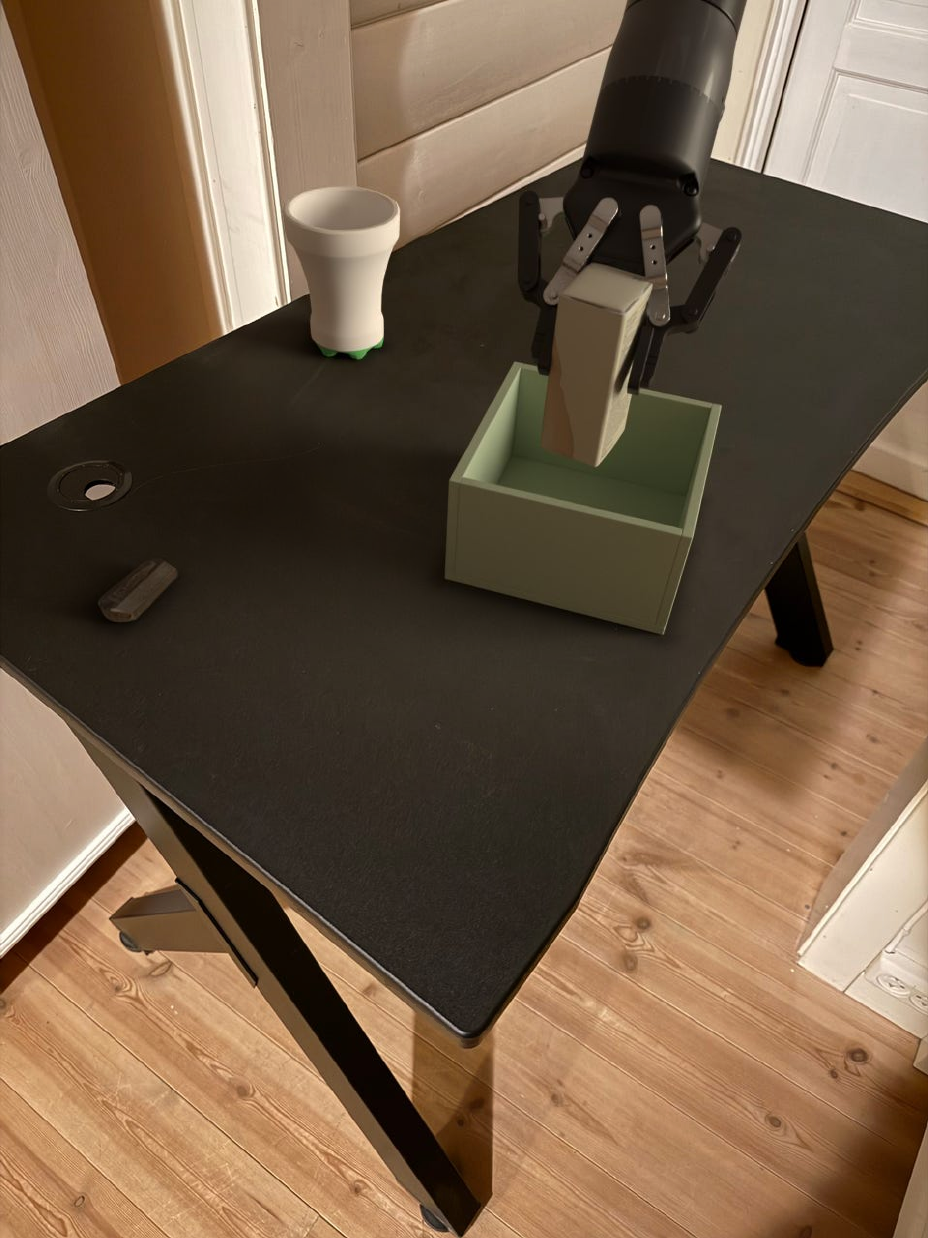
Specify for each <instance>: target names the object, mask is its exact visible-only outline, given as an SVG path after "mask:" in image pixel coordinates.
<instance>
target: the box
mask: <svg viewBox="0 0 928 1238" xmlns="http://www.w3.org/2000/svg"><path fill="white" fill-rule="evenodd" d="M652 287H653V284H651V283H648V282H646V278H645V277H644V276H640V275H637V274H633V273H630V272H627V271H623V270H620V269H617V268H613V267H610V266H607V265H604V264H600V263H595V262H591V263H590V264H589V265H588V266H587V267H586V268H584V269H583V270H582V271H581V272H580V273H579V274H578V275H577V276H576V277H575V278H574V279H573V280H572V281H571V282H570V283H569V284H568V285H567V286H566V287H565V288H564V290H563V291H562V292H561V293H560V294H559V300H558V308H557V316H556V323H555V332H554V339H553V347H552V355H551V363H550V370H549V378H548V385H547V393H546V401H545V409H544V417H543V425H542V433H541V441H540V447H541V448H544V449H546V450H549V451H552V452H554V453H557V454H560V455H562V456H565V457H568V458H570V459H573V460H576V461H579V462H582V463H584V464H587V465H590V466H592V467H597V466H598V465H599V464H600V463H601V462H602V460H603V459H604V458H605V457H606V455H607V454H608V453H609V451H610V450H611V448H612V447H613V446H614V444H615V443H616V442H617V440H618V439H619V437H620V436H621V434H622V433H623V431H624V429H625V424H626V419H627V414H628V410H629V405H630V400H631V396H632V394H628V393H627V385H628V381H629V377H630V373H631V369H632V365H633V361H634V357H635V354H636V350H637V346H638V342H639V338H640V334H641V331H642V327H643V326H646V325H647V321H648V314H649V311H648V299H649V296H650V293H651V291H652Z"/></svg>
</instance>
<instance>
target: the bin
mask: <svg viewBox="0 0 928 1238" xmlns="http://www.w3.org/2000/svg"><path fill="white" fill-rule="evenodd" d="M537 366H538V365H532V364H527V363H523V362H518V361H514V362H513V364H512V365H511V367H510V369H509V371H508V372H507V374H506V376H505V378H504V380H503V382H502V383H501V385H500V387H499V389H498V390H497V392H496V395H494V398H493V400H492V402H491V403H490V405H489V407H488V408H487V411H486V413H485V414H484V416H483V418H482V420H481V422H479V423H480V424H479V425H478V427H477V429H476V431H475V432H474V435H472V438H471V440H470V441H469V444H468V445H467V447H466V449H465V450H464V452H463V455H462V456H461V458H460V460H459V462H458V463H457V466H456V467H455V469H454V470H453V473H452V475H451V477H450V478H449V480H448V493H447V494H448V495H447V496H448V497H447V517H446V541H445V558H444V559H445V561H444V579H445V580H447V581H448V580H449V581H452V582H456V583H460V584H464V585H468V586H471V587H476V588H479V589H483V590H487V591H491V592H495V593H498V594H503V595H506V596H510V597H514V598H518V599H522V600H526V601H530V602H533V603H537V604H540V605H541V604H542V605H545V606H549V607H553V608H557V609H561V610H565V611H569V612H573V613H576V614H580V615H584V616H588V617H592V618H596V619H600V620H602V621H608V622H611V623H616V624H619V625H622V626H627V627H630V628H634V629H638V630H642V631H647V632H649V633H654V634H658V635H662V636H663V635H664V634H665V631H666V628H667V624H668V621H669V618H670V614H671V613H672V612H671V611H672V608H673V604H674V601H675V598H676V595H677V592H678V588H679V585H680V582H681V579H682V578H681V577H682V575H683V572H684V569H685V565H686V563H687V559H688V556H689V553H690V549H691V546H692V542H693V540H694V537H695V536H694V535H695V531H696V526H697V523H698V522H697V521H698V517H699V512H700V507H701V502H702V499H703V494H704V490H705V485H706V480H707V475H708V471H709V466H710V462H711V457H712V453H713V447H714V443H715V439H716V435H717V430H718V427H719V426H718V425H719V420H720V416H721V411H722V407H723V405H721V404H718V403H712V402H708V401H704V400H699V399H693V398H690V397H684V396H680V395H676V394H670V393H666V392H661V391H657V390H656V391H655V390H651V389H648V388H647V389H646V388H643V387H642V388H641V387H640V391H639V394H638V396H637V395H633V394H632V396H631V400H630V405H629V410H628V414H627V419H626V424H625V429H624V431H623V433H622V434H621V436H620V437H619V439H618V440H617V442H616V443H615V444H614V446H613V447H612V448H611V450H610V451H609V453H608V454H607V455H606V457H605V458H604V459H603V460H602V462H601V463H600V464H599V465H598V466H597V467H592V466H590V465H587V464H584V463H582V462H579V461H576V460H573V459H570V458H568V457H565V456H562V455H560V454H557V453H554V452H552V451H549V450H546V449H544V448H541V447H540V441H541V433H542V425H543V417H544V409H545V401H546V393H547V385H548V378H549V376H544V375H540V374H539V372H538V369H537Z"/></svg>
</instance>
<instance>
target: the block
mask: <svg viewBox="0 0 928 1238" xmlns="http://www.w3.org/2000/svg"><path fill="white" fill-rule="evenodd" d="M178 576H179V571H178V570H177V568H175V567H174V566H173V565H171V564H170V563H168V562H167V561H165V560H163V559H161V558H158V557H152V558H147V559H146V560H145V561H144V562H142V563H141V564H139V565H138V566H137V567H136V568H135V569H133V570H132V571H131V572H130V573H129V574H128V575H126V576H125V577H124V578H123V579H121V580H120V581H119V582H118V583H116V584H115V585H114V586H113V587H111V588H110V589H109V590H107V591H106V592H105V593H104V594H103V595H102V596H101V597H99V599H98V602H97V603H98V607H99V608H100V610H101V612H102V614H103V616H104V617H105V618H106V619H107V620H109V621H111V622H114V623H127V622H132V621H136V620H137V619H139V617H140V616H142V614H143V613H144V612H145V611H146V610H147V609H148V608H149V607H150V606H151V605H152V604H153V603H154V602H155V601H156V599H158V598H159V597H160V595H161V594H162V593H164V591H165V590H166V589H167V588H168V587H169V586H170V585H171V584H172V583H173V582H174V581H175V580H176V579H177V577H178Z"/></svg>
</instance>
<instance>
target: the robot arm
mask: <svg viewBox="0 0 928 1238" xmlns="http://www.w3.org/2000/svg"><path fill="white" fill-rule="evenodd" d="M747 3H748V0H626V3H625V8H624V11H623V16H622V19H621V22H620V25H619V28H618V31H617V34H616V36H615V38H614V41H613V43H612V46H611V47H610V51H609V54H608V57H607V60H606V65H605V69H604V72H603V76H602V80H601V84H600V88H599V92H598V96H597V100H596V103H595V107H594V112H593V115H592V119H591V124H590V127H589V130H588V131H589V132H588V136H587V138H586V142H585V147H584V151H583V155H582V159H581V163H580V167H579V170H578V173H577V177H576V179H575V181H574V182H573V184H572V185H571V186H570V188H569V189H568V190H567V191H566V192H565V193H564V196H557V197H541V198H539V195H538V194H537V193H536V192H535V191H533V190H527V191H524V192H523V193H522V194H521V195H520V197H519V200H518V242H517V243H518V244H517V245H518V247H517V285H518V287H519V290H520V293H521V296H522V298H523V300H525V301H526V302H528V303H532V304H533V305H536V306H537V307H538V308H539V309H540V311H539V316H538V320H537V324H536V326H535V327H536V328H535V331H534V333H533V334H534V335H533V339H532V342H531V347H530V352H531V353H530V354H531V359H532V361H533V364H534V365H536V366H537V369H538V372H539V374H540V375H544V376H549V370H550V363H551V355H552V347H553V339H554V332H555V323H556V316H557V308H558V300H559V294H560V293H561V292H562V291H563V290H564V288H565V287H566V286H567V285H568V284H569V283H570V282H571V281H572V280H573V279H574V278H575V277H576V276H577V275H578V274H579V273H580V272H581V271H582V270H583V269H584V268H586V267H587V266H588V265H589V264H590V263H591V262H595V263H600V264H604V265H607V266H610V267H613V268H617V269H620V270H623V271H627V272H630V273H633V274H637V275H640V276H644V277H645V278H646V282H648V283H651V284H653V287H652V291H651V293H650V296H649V299H648V311H649V314H648V319H647V324H646V326H643V327H642V331H641V334H640V338H639V342H638V346H637V350H636V354H635V357H634V361H633V365H632V369H631V373H630V377H629V381H628V385H627V393H628V394H633V395H637V396H638V394H639V391H640V388H641V387H642V388H645V389H646V388H647V389H649V388H650V387H651V385H652V384H653V383H654V381H655V377H656V373H657V370H658V366H659V363H660V358H661V354H662V350H663V346H664V343H665V341H666V339H667V338H668V337H669V336H671V335H674V334H679V333H680V334H681V333H684V334H687V335H692V334H694V333H696V332H697V331H698V330H699V329H700V327H701V324H702V322H703V321H704V319H705V317H706V315H707V313H708V312H709V309H710V308H711V306H712V304H713V302H714V301H715V298H716V296H717V294H718V292H719V291H720V289H721V286H722V285H723V283H724V281H725V279H726V277H727V275H728V273H729V271H730V269H731V268H732V266H733V264H734V263H735V260H736V258H737V256H738V253H739V250H740V247H741V242H742V239H743V234H742V231H741V230H740V229H739V228H738V227H735V226H729V227H727V228H725V229H721V228H719V227H716V226H714V225H712V224H710V223H708V222H705V221H703V215H702V211H701V207H700V200H701V195H702V192H703V188H704V184H705V181H706V177H707V174H708V173H707V172H708V168H709V165H710V161H711V158H712V153H713V150H714V145H715V143H716V138H717V134H718V130H719V126H720V124H721V121H722V119H723V117H724V114H725V110H726V100H727V96H728V92H729V88H730V83H731V80H732V74H733V73H732V72H733V65H734V57H735V56H734V55H735V50H736V45H737V41H738V37H739V33H740V30H741V27H742V26H741V25H742V23H743V18H744V14H745V11H746V7H747ZM562 219H564V220H565V223H566V225H567V228H568V230H569V232H570V234H571V237H572V240H573V243H572V244H571V246H570V248H569V249H568V251H567V252H566V254H565V255H564V257H563V259H562V261H561V264H560V266H559V268H558V270H557V272H556V273H555V274H554V275H553V277H552V278H551V280H550V282H549V281H547V280H546V279H544V278H542V265H543V262H542V259H543V239H544V238H548V237H550V236H551V235H552V234H553V232H554V230H555V226H556V224H557V222H558V221H559V220H562ZM694 242H695V243H696V245H698V247H699V251H698V257H697V260H698V263H699V265H700V266H701V267H703V269H702V270H701V272H700V274H699V276H698V278H697V280H696V282H695V283H694V285H693V287H692V290H691V291H690V292H689V295H688V296H687V299H686V301H685V302H684V304H679V305H673V306H670V300H669V291H668V275H667V266H668V265H669V264H671V262H673V261H674V260H675V259H676V258H677V257H678V256H679V255H680V254H682V253H683V252H684V251H685V250H687V248H689V247H690V246H691V245H692V244H693V243H694Z"/></svg>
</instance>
